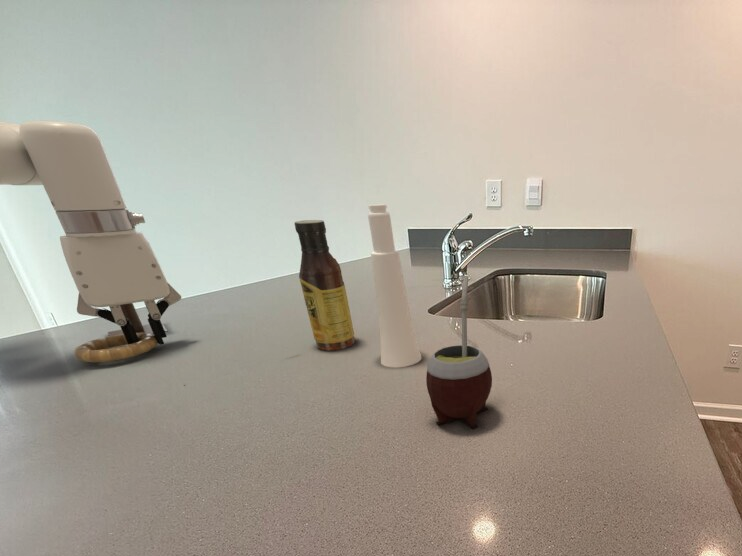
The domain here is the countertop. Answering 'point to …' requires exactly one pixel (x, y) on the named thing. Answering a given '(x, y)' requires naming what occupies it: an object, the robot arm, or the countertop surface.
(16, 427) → the countertop surface
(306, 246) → the sauce bottle
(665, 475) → the countertop surface
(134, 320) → the peg stand
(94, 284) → the robot arm
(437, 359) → the mate gourd
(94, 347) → the ring
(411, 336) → the cosmetic bottle
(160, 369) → the countertop surface
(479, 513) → the countertop surface
